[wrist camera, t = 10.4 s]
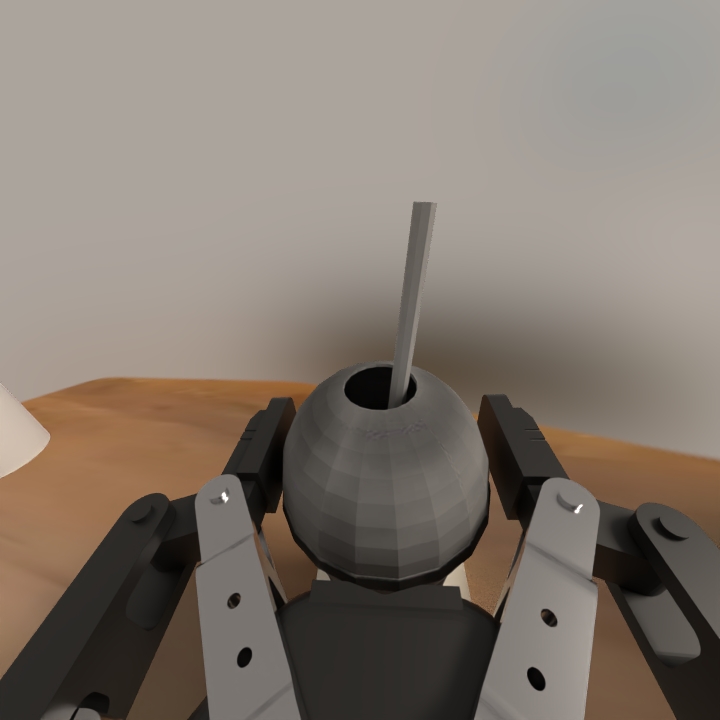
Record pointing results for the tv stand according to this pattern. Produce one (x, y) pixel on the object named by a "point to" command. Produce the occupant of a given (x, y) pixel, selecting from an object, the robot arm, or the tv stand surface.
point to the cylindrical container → (18, 434)
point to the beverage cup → (388, 462)
